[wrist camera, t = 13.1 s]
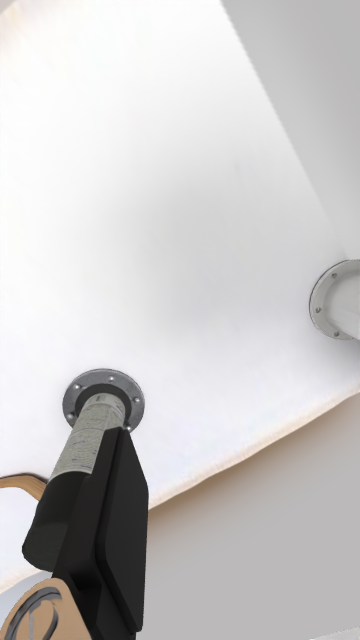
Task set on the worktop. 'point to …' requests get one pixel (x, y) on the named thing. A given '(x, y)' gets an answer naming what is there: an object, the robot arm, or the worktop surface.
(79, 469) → the spray can
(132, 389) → the flange
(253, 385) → the worktop surface
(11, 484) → the pipe
